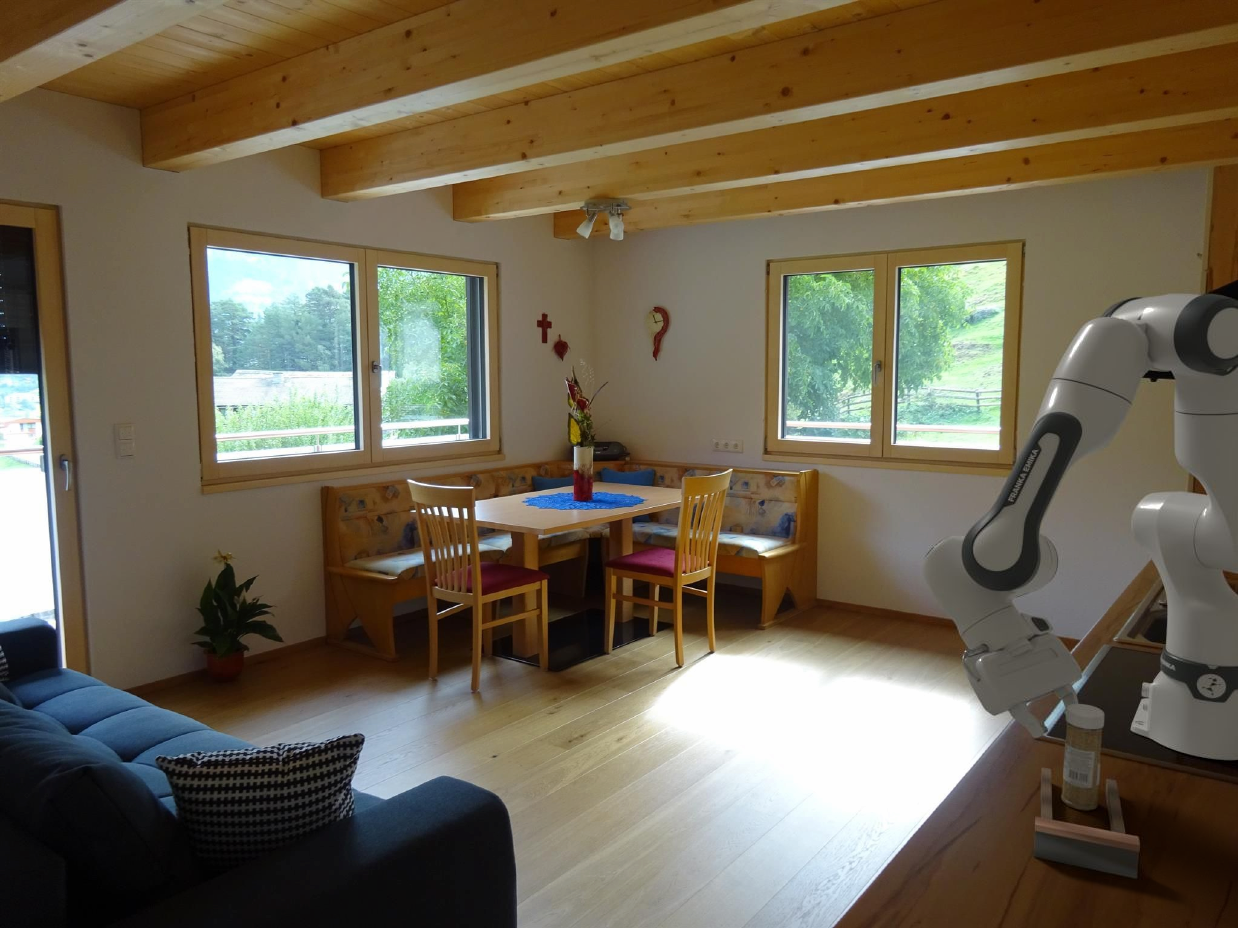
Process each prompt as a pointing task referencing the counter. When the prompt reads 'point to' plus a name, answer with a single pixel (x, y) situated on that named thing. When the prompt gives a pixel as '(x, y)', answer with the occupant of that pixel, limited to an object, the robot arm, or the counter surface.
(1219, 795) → the counter surface
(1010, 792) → the counter surface
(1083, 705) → the sprinkles bottle
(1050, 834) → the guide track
